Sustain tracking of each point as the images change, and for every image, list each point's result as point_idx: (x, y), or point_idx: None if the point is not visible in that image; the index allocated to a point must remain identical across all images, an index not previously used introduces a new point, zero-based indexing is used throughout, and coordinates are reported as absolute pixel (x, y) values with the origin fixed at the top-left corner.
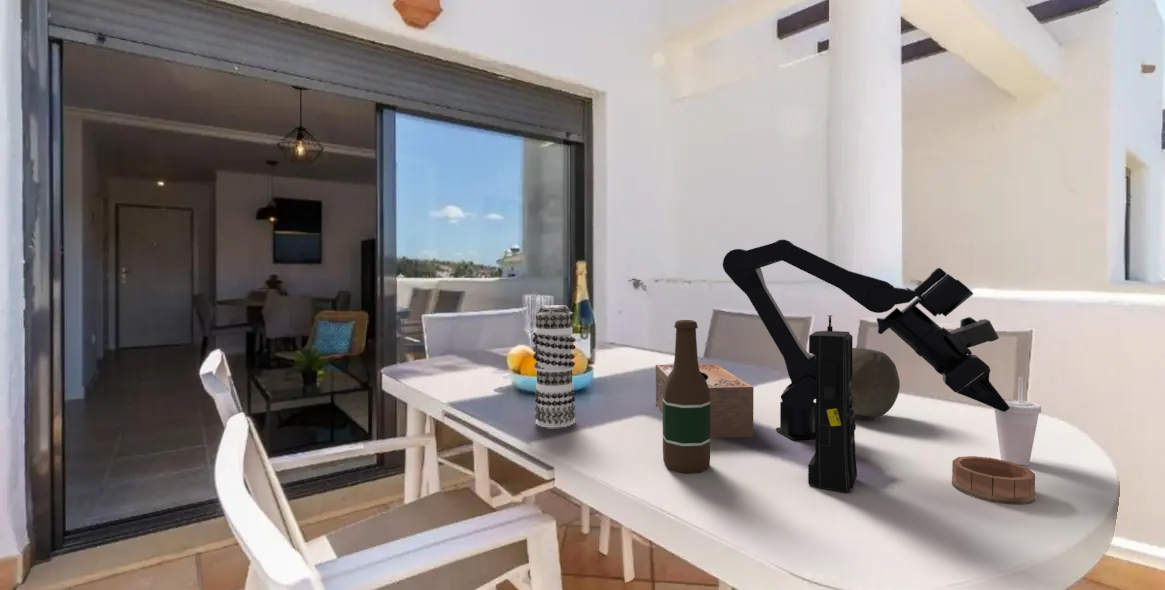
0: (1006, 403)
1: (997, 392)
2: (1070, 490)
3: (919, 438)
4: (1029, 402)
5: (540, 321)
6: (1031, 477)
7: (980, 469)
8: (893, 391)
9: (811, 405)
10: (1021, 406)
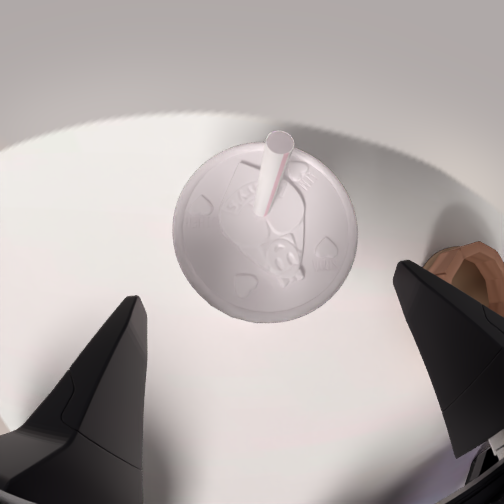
0: (425, 269)
1: (477, 301)
2: (389, 190)
3: (174, 451)
4: (239, 172)
5: None
6: (491, 248)
7: None
8: None
9: None
10: (319, 211)
